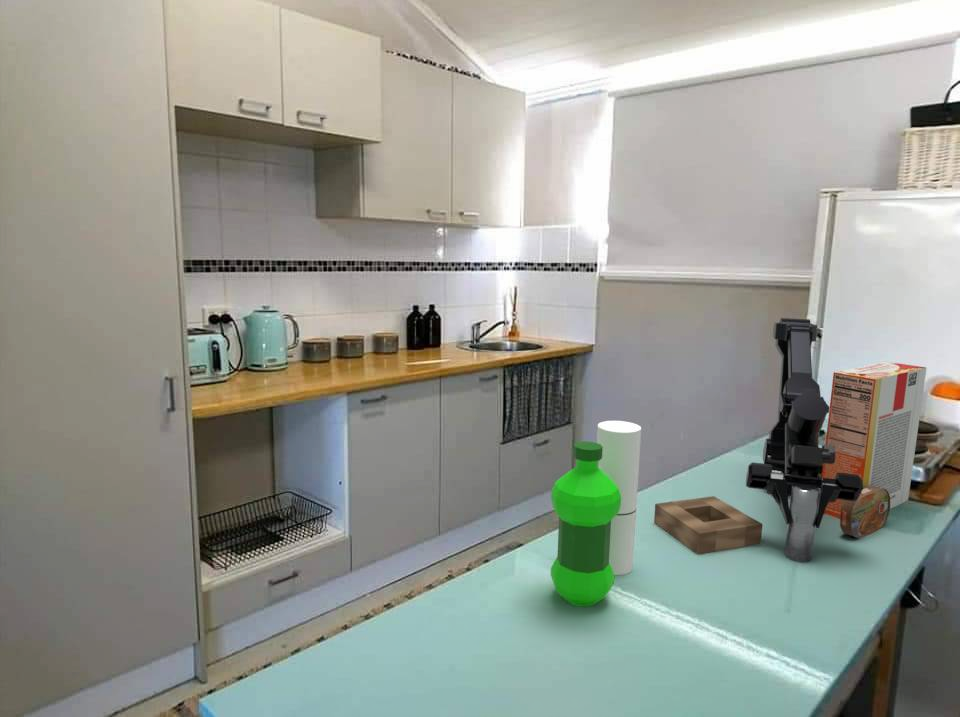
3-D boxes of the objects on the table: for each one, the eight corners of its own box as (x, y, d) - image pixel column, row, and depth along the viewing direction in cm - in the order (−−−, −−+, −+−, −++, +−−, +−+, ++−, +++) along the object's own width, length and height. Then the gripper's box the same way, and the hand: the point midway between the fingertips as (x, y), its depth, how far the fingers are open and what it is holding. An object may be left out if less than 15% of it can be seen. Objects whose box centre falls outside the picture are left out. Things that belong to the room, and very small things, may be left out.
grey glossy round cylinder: (779, 552, 120) (786, 485, 117) (798, 549, 121) (805, 482, 119) (797, 563, 116) (805, 494, 113) (817, 560, 117) (825, 491, 115)
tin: (850, 543, 124) (855, 501, 123) (834, 536, 127) (838, 495, 125) (889, 525, 132) (894, 485, 131) (873, 519, 135) (878, 480, 133)
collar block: (654, 522, 132) (655, 503, 131) (712, 514, 136) (713, 496, 135) (697, 554, 119) (699, 533, 118) (760, 544, 123) (762, 524, 122)
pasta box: (869, 489, 152) (885, 361, 146) (908, 500, 145) (926, 367, 140) (817, 511, 139) (833, 372, 133) (857, 524, 132) (875, 379, 127)
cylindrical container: (630, 556, 117) (638, 421, 113) (635, 576, 110) (644, 433, 106) (589, 554, 118) (596, 419, 113) (592, 573, 111) (599, 431, 106)
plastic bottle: (622, 591, 106) (631, 442, 101) (599, 623, 97) (607, 461, 92) (565, 574, 110) (571, 432, 106) (538, 603, 102) (543, 449, 97)
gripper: (752, 420, 121) (750, 499, 113) (867, 431, 115) (874, 515, 106) (747, 449, 130) (744, 523, 121) (853, 460, 123) (858, 540, 115)
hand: (802, 525), depth 116 cm, fingers closed on grey glossy round cylinder, 4 cm apart
